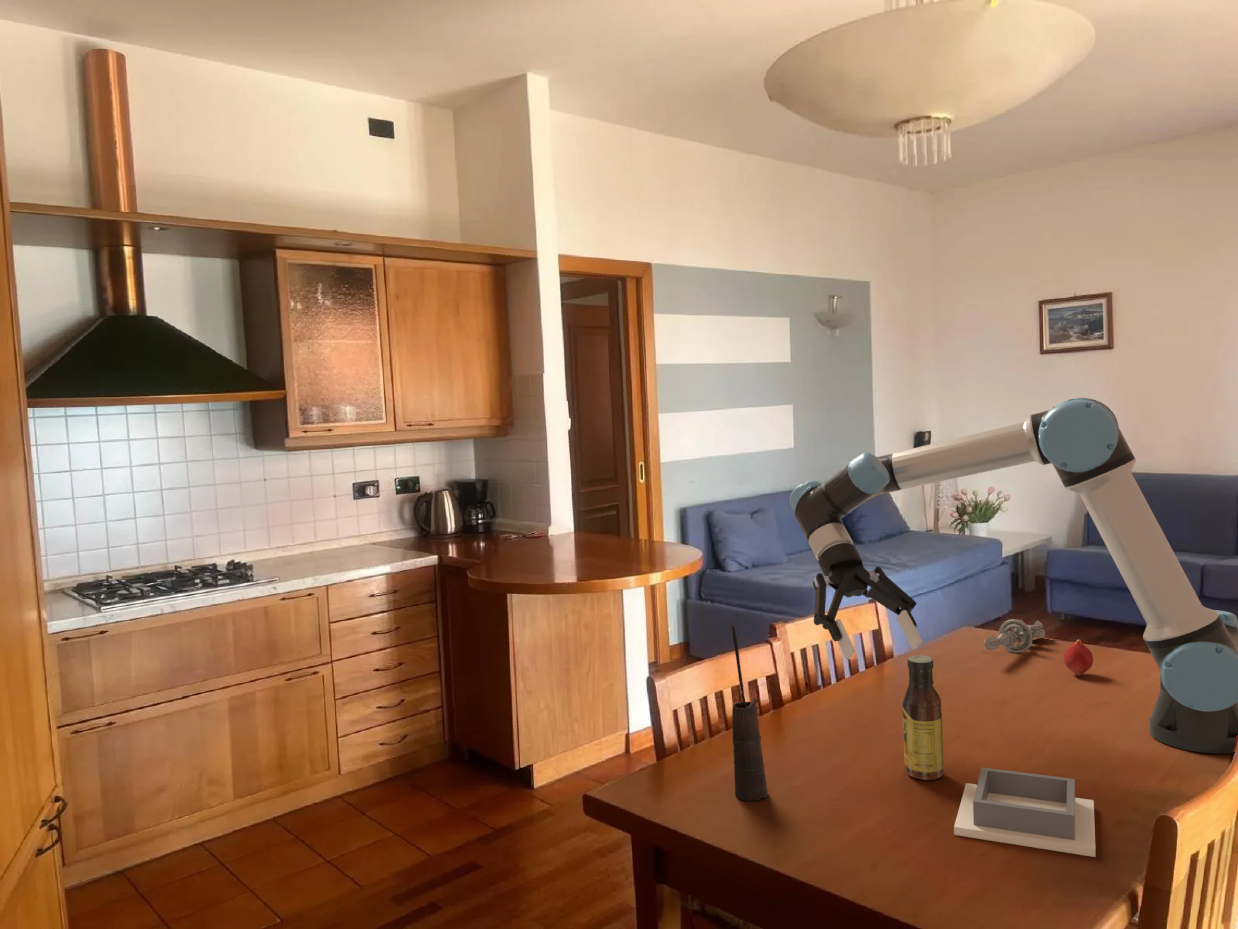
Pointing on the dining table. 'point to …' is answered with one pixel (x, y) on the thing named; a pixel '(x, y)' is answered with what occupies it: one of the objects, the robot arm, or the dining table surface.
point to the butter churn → (747, 745)
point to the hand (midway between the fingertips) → (884, 650)
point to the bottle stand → (1027, 812)
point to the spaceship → (1015, 636)
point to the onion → (1078, 658)
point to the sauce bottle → (922, 722)
